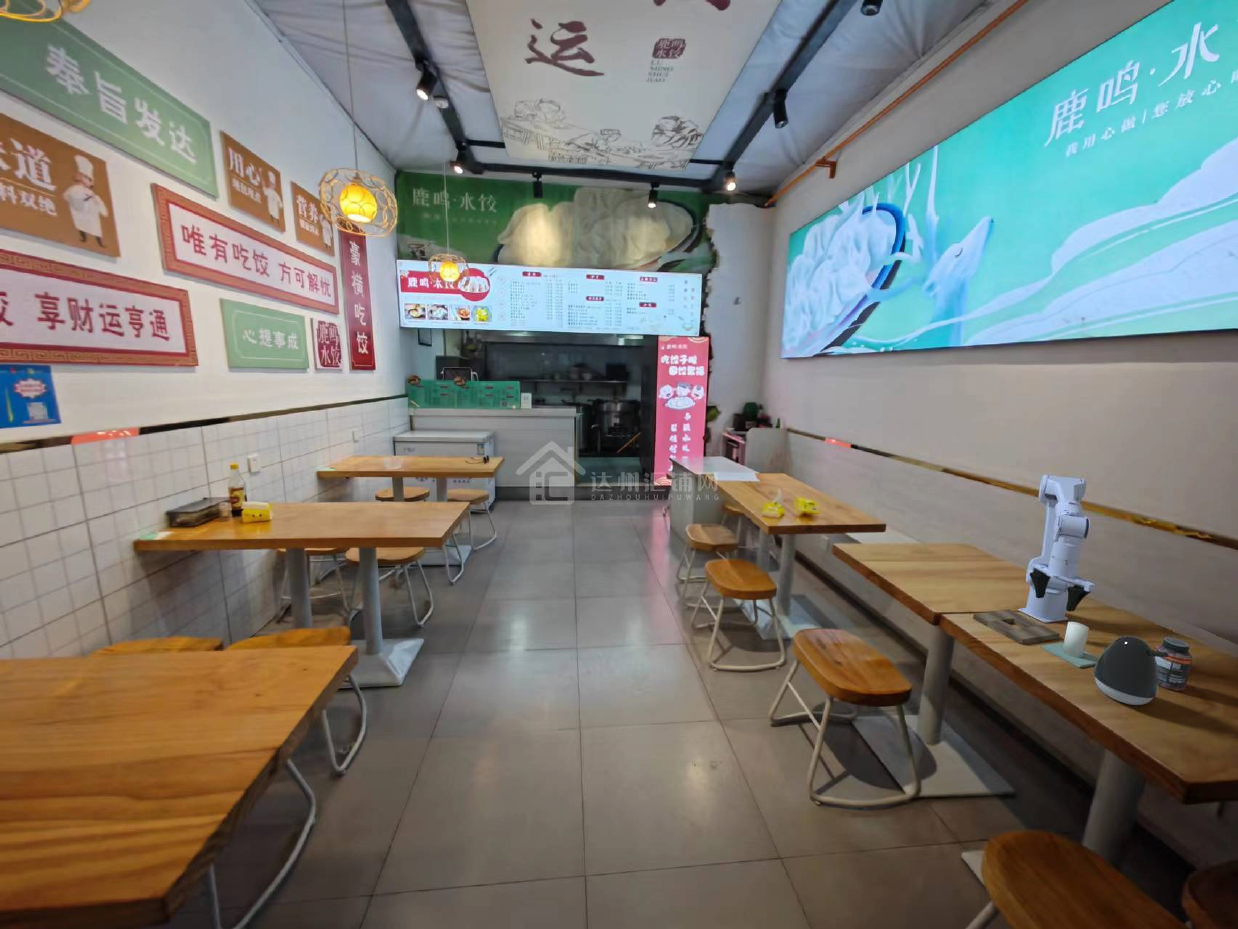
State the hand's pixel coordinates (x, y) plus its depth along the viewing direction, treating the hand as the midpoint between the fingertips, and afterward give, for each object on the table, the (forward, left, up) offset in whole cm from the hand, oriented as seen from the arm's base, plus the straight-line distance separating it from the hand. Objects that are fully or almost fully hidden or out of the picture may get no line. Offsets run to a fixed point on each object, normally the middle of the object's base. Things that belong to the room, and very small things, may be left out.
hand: (1054, 603), depth 132 cm
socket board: (+4, -6, -10) cm, 13 cm away
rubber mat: (+3, +8, -10) cm, 13 cm away
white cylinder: (+3, +8, -10) cm, 13 cm away
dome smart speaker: (+11, +23, -11) cm, 28 cm away
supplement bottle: (-6, +22, -11) cm, 25 cm away
